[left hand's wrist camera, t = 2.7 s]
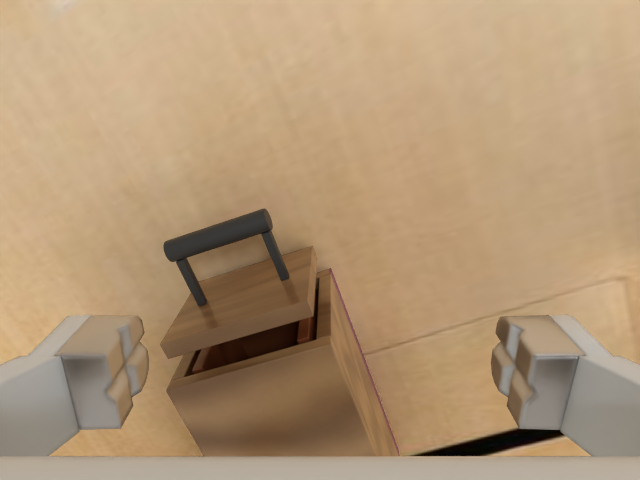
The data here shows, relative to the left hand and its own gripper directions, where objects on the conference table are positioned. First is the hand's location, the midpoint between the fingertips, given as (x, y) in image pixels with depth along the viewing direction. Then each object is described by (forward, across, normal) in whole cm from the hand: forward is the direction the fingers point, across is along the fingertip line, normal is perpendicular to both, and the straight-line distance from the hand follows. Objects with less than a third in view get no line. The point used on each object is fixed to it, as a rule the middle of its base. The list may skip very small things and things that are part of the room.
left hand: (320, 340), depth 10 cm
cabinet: (+25, +1, +22) cm, 33 cm away
